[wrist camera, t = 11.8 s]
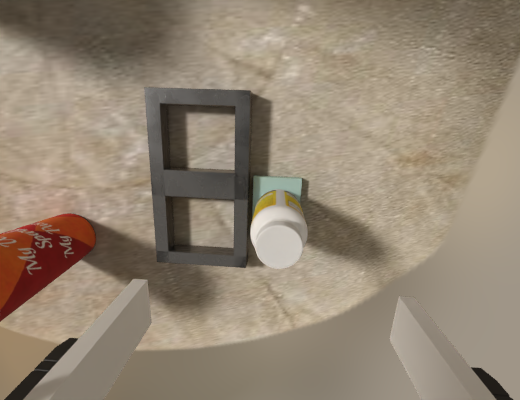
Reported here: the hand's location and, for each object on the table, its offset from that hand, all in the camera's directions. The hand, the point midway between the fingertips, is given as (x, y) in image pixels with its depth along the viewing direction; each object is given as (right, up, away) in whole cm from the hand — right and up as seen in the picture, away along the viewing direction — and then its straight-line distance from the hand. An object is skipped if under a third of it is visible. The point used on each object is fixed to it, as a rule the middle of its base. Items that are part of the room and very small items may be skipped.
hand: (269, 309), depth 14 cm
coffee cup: (-25, +1, +21) cm, 33 cm away
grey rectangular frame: (-7, +8, +18) cm, 21 cm away
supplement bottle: (+2, +5, +17) cm, 18 cm away
